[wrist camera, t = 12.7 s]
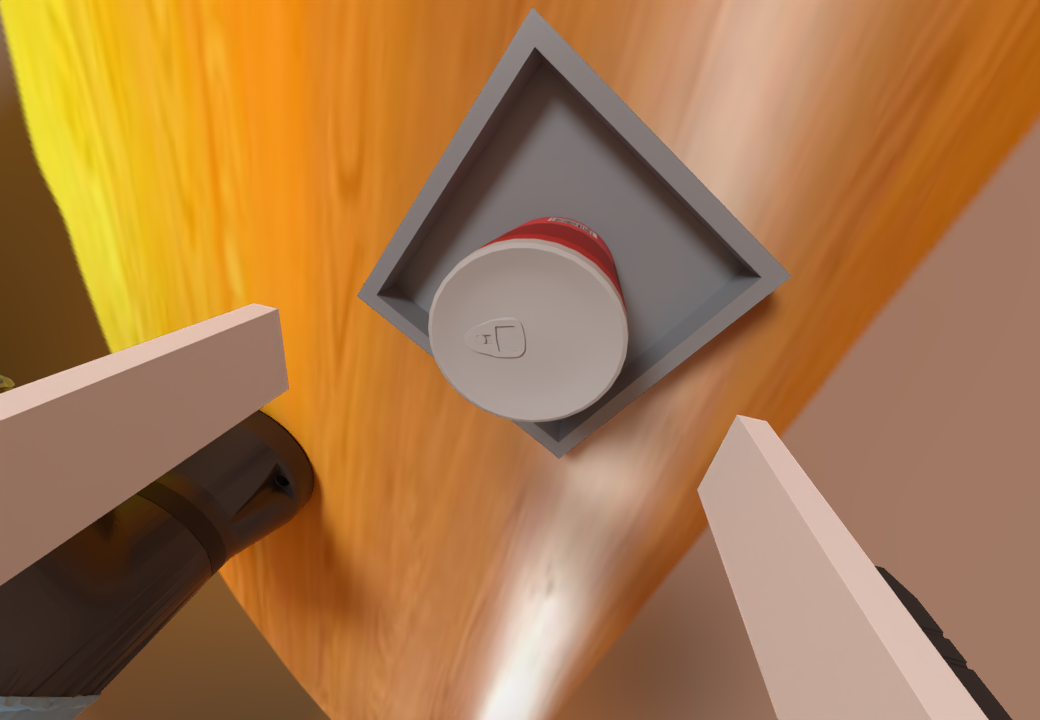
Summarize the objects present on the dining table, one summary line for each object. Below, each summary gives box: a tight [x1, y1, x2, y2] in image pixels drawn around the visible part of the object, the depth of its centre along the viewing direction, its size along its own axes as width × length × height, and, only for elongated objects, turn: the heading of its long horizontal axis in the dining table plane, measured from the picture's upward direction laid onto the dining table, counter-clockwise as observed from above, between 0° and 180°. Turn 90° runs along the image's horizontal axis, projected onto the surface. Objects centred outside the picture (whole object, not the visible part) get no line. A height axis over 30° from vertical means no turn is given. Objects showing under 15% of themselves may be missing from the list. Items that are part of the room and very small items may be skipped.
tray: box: [357, 7, 792, 458], centre depth 23 cm, size 18×18×4 cm
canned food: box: [428, 217, 629, 422], centre depth 19 cm, size 8×8×11 cm
